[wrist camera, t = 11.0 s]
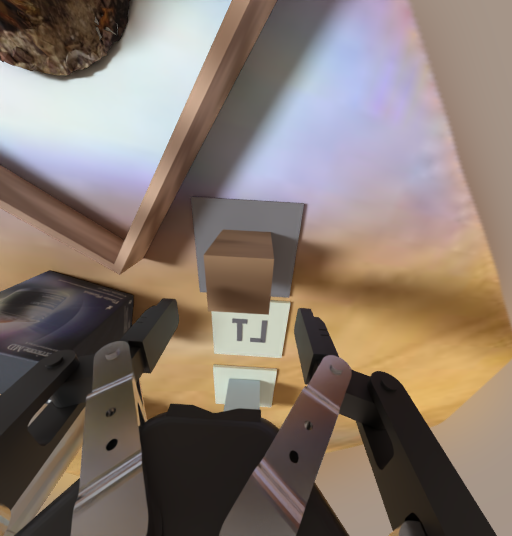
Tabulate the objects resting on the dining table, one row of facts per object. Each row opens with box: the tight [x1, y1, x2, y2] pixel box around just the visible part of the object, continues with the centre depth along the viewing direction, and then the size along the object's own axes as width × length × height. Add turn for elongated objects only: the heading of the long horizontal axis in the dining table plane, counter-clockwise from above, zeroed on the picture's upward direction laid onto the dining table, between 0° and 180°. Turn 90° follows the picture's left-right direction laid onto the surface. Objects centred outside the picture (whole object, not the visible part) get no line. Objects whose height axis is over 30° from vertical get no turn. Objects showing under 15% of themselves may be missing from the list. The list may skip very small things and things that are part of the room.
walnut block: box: [204, 230, 274, 315], centre depth 17 cm, size 5×5×7 cm
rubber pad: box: [191, 197, 304, 298], centre depth 21 cm, size 11×11×1 cm
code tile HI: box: [213, 365, 277, 407], centre depth 32 cm, size 10×10×1 cm
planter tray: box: [0, 0, 277, 275], centre depth 12 cm, size 26×26×4 cm
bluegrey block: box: [224, 379, 260, 411], centre depth 28 cm, size 5×5×7 cm
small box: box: [0, 271, 134, 404], centre depth 20 cm, size 11×6×10 cm, turn 71°
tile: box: [212, 300, 290, 358], centre depth 26 cm, size 10×10×1 cm
